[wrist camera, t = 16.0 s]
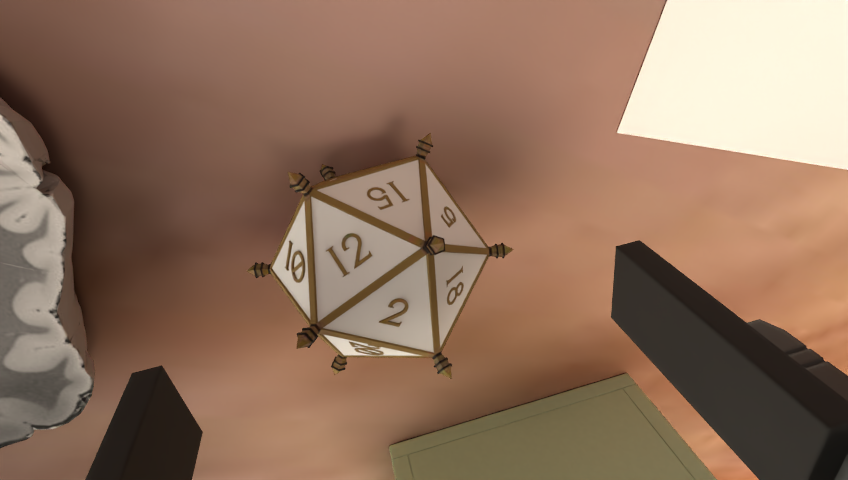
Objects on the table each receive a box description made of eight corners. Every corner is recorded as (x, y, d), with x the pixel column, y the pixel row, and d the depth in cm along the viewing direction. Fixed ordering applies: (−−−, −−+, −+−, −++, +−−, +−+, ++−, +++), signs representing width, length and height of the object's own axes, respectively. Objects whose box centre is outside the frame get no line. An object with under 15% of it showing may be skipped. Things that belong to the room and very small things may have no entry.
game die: (391, 200, 25) (499, 364, 21) (228, 255, 21) (325, 468, 17) (433, 55, 18) (608, 268, 14) (196, 98, 14) (351, 409, 10)
